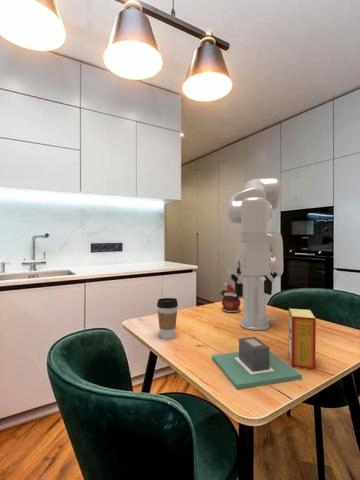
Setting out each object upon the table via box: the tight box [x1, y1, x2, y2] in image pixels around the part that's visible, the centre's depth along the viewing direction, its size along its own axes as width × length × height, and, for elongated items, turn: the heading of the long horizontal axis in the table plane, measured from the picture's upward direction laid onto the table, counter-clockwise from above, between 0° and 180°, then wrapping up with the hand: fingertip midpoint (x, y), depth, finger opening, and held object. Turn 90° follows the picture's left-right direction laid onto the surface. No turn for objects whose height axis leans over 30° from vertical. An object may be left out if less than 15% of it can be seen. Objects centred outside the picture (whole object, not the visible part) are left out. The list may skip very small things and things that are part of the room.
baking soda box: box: [288, 307, 317, 370], centre depth 86 cm, size 10×6×16 cm
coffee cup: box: [156, 297, 179, 340], centre depth 108 cm, size 8×8×15 cm
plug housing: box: [238, 336, 271, 372], centre depth 82 cm, size 6×8×7 cm, turn 15°
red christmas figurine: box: [220, 277, 241, 313], centre depth 143 cm, size 11×9×18 cm
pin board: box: [211, 351, 303, 390], centre depth 82 cm, size 20×18×5 cm
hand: (253, 294), depth 82 cm, fingers open, 9 cm apart
